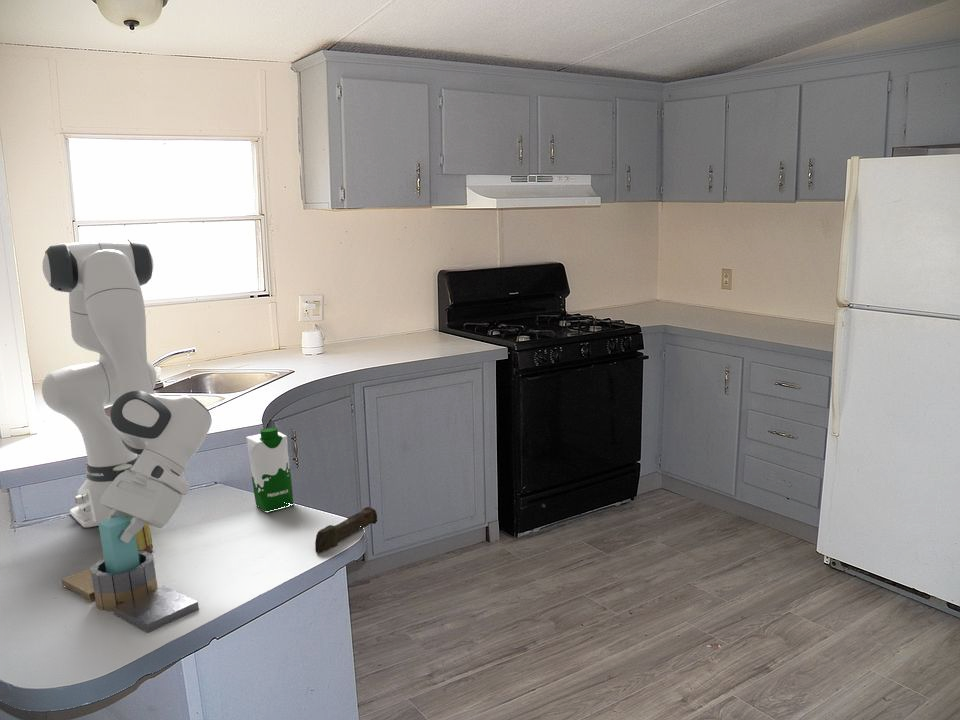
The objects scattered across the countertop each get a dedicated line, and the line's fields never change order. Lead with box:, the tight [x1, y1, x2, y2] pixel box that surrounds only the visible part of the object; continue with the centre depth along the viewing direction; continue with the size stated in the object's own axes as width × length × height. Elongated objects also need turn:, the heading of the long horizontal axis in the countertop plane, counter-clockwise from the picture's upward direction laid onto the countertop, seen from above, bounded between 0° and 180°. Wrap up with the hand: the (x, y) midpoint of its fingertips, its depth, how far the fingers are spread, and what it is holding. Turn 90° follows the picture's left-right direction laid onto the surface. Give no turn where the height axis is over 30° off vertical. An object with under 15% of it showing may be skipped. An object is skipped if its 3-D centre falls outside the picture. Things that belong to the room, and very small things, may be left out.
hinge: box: [61, 551, 200, 634], centre depth 155 cm, size 34×11×7 cm, turn 50°
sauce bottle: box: [113, 464, 154, 553], centre depth 175 cm, size 6×6×20 cm
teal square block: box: [98, 515, 140, 573], centre depth 155 cm, size 4×4×14 cm
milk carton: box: [245, 427, 294, 512], centre depth 199 cm, size 9×9×20 cm
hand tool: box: [314, 506, 378, 554], centre depth 178 cm, size 19×4×5 cm, turn 148°
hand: (114, 537), depth 153 cm, fingers closed on teal square block, 4 cm apart
